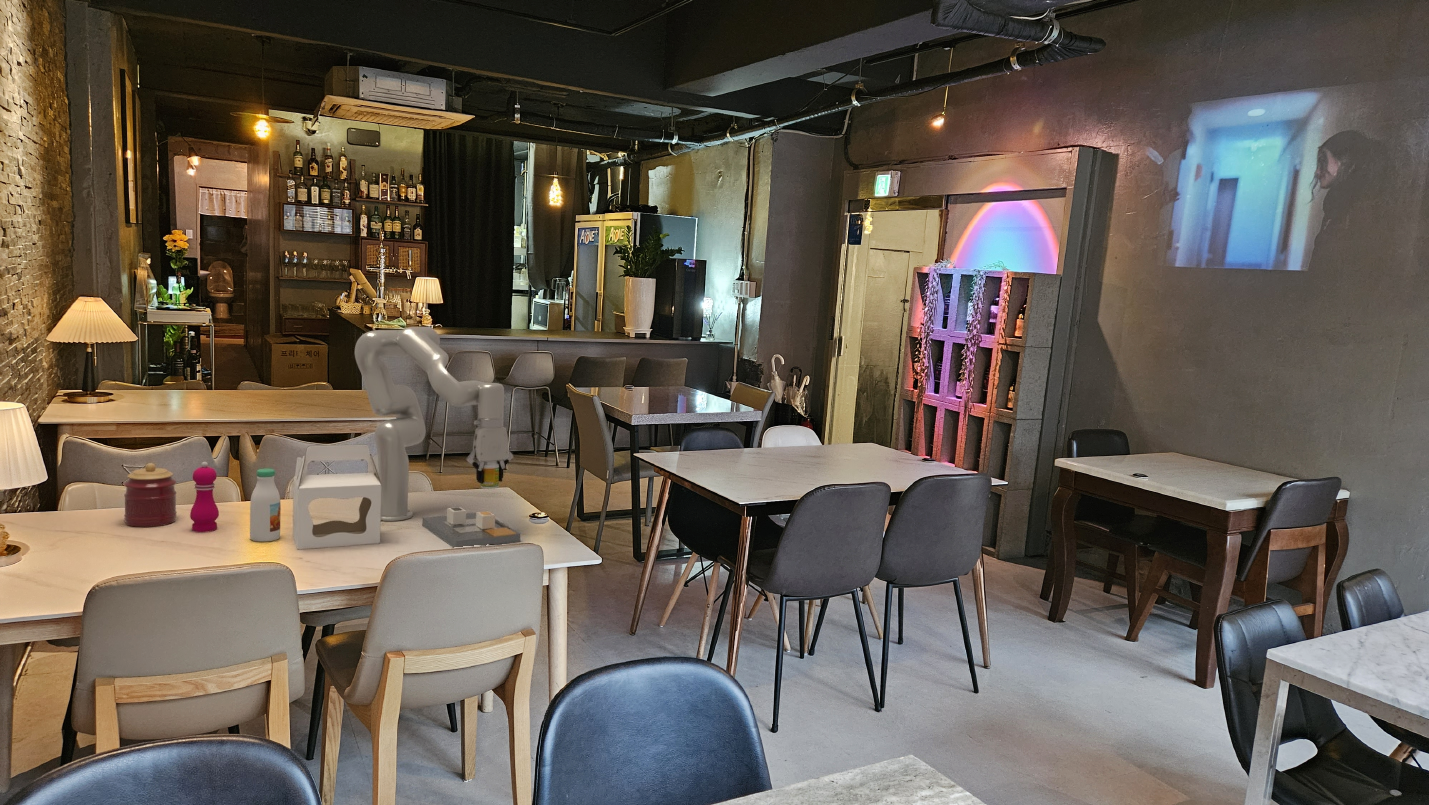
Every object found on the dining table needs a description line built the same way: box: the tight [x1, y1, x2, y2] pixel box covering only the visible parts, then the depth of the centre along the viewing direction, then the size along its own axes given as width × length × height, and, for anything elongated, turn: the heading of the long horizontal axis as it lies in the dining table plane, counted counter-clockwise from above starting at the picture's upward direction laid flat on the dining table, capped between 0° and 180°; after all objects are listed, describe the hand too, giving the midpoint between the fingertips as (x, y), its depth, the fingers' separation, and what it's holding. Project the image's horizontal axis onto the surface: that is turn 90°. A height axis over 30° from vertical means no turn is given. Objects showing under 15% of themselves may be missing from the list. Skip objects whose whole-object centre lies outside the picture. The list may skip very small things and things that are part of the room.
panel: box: [421, 512, 521, 548], centre depth 271 cm, size 20×28×3 cm
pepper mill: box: [189, 461, 220, 533], centre depth 255 cm, size 7×7×20 cm
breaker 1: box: [446, 506, 467, 525], centre depth 271 cm, size 4×5×4 cm
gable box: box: [292, 443, 382, 550], centre depth 253 cm, size 22×13×28 cm, turn 120°
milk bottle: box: [249, 468, 282, 543], centre depth 250 cm, size 8×8×20 cm
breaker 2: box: [475, 510, 496, 529], centre depth 269 cm, size 4×5×4 cm
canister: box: [123, 462, 177, 528], centre depth 259 cm, size 13×13×18 cm
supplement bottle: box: [480, 461, 500, 490], centre depth 271 cm, size 5×5×10 cm
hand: (489, 481), depth 271 cm, fingers closed on supplement bottle, 5 cm apart
